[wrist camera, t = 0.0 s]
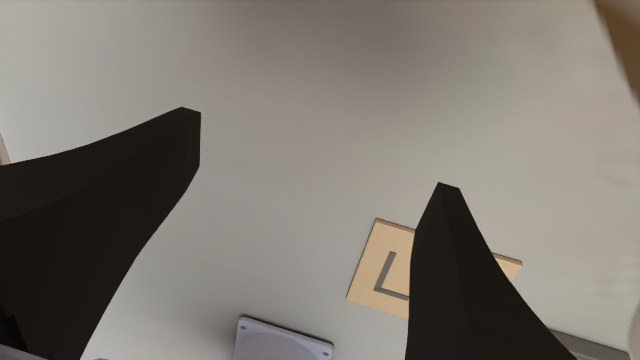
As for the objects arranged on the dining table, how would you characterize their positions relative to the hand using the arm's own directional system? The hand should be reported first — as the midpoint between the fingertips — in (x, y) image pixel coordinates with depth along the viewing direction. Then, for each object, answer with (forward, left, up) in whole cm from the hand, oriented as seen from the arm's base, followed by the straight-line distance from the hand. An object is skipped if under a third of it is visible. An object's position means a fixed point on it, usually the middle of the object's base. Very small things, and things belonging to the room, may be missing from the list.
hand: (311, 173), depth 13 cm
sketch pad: (-14, -8, -10) cm, 19 cm away
